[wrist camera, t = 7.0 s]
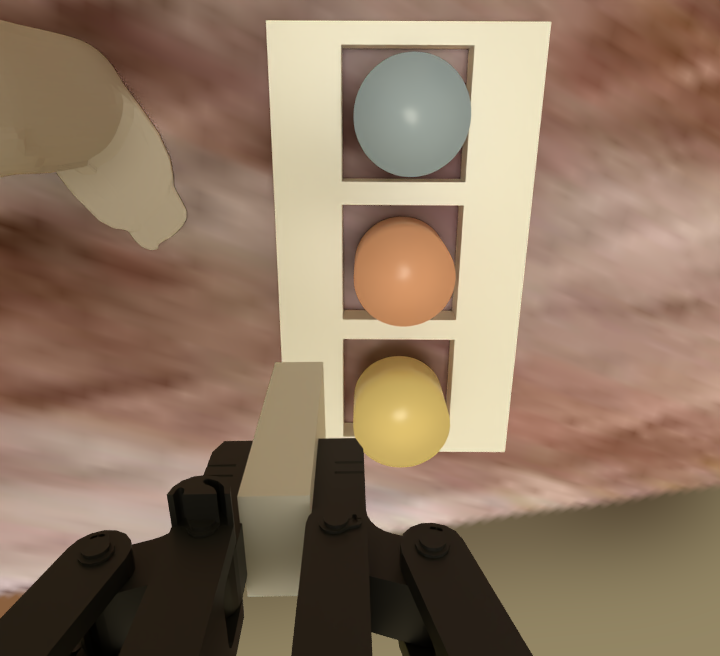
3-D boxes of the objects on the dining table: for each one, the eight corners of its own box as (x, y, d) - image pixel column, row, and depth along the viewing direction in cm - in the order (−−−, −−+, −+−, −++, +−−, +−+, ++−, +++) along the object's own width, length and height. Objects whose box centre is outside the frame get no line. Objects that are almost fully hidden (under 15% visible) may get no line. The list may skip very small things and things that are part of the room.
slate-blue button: (354, 169, 34) (353, 176, 30) (354, 58, 32) (353, 51, 28) (455, 170, 34) (466, 177, 30) (462, 59, 32) (475, 51, 28)
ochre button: (354, 434, 40) (353, 466, 37) (354, 355, 38) (353, 382, 35) (439, 434, 40) (447, 467, 37) (444, 356, 38) (453, 382, 34)
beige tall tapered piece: (131, 266, 39) (-80, 406, 21) (-15, 80, 35) (-444, 42, 17) (215, 210, 38) (70, 305, 19) (73, 9, 34) (-286, -119, 15)
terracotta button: (354, 305, 39) (353, 326, 35) (354, 216, 37) (353, 227, 33) (443, 306, 39) (452, 327, 35) (449, 216, 37) (458, 228, 33)
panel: (289, 436, 44) (285, 450, 42) (271, 25, 34) (265, 20, 32) (498, 437, 44) (504, 452, 42) (541, 26, 34) (551, 21, 32)
